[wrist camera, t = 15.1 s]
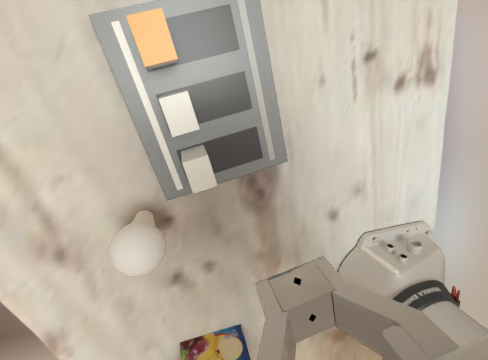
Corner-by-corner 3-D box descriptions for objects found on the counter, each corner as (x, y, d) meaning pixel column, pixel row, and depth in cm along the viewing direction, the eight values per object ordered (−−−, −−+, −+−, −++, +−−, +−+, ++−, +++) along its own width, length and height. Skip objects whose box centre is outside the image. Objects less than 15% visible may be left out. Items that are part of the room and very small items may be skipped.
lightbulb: (115, 226, 36) (93, 282, 26) (131, 190, 34) (114, 234, 24) (157, 238, 38) (152, 293, 28) (174, 204, 37) (173, 250, 27)
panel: (251, -15, 29) (272, -41, 23) (282, 157, 38) (303, 172, 32) (94, 19, 27) (69, 0, 20) (167, 194, 36) (165, 219, 30)
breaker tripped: (164, 21, 26) (161, 7, 22) (177, 62, 28) (177, 58, 23) (134, 27, 26) (125, 15, 21) (150, 69, 28) (144, 67, 23)
